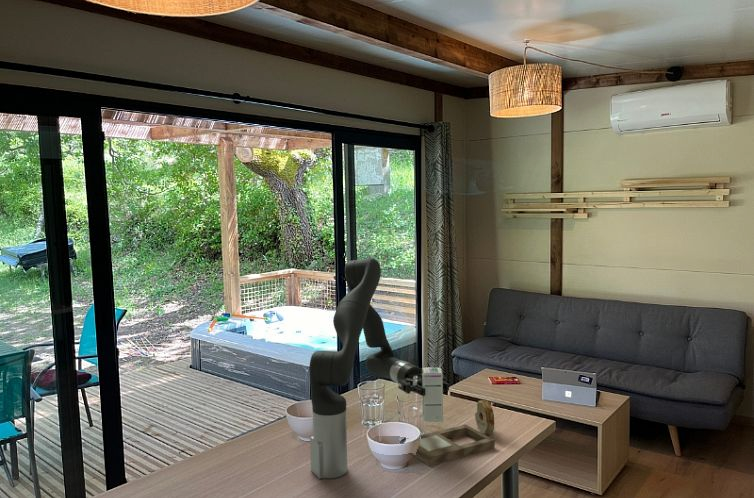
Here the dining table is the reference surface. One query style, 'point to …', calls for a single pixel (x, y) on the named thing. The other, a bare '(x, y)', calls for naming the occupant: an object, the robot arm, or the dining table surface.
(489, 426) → the bagel
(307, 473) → the dining table surface
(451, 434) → the dock board
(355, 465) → the dining table surface
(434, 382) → the syrup box
